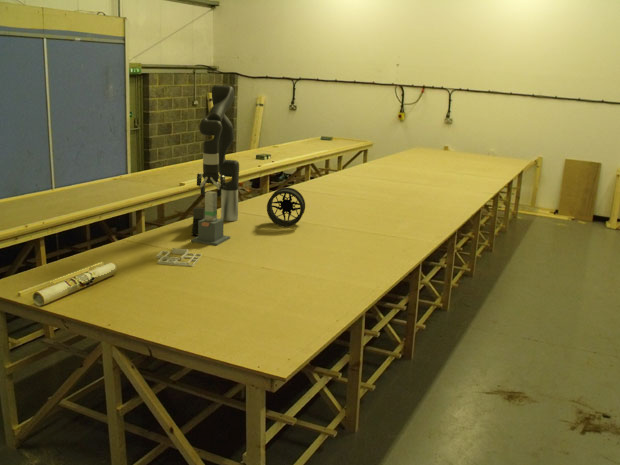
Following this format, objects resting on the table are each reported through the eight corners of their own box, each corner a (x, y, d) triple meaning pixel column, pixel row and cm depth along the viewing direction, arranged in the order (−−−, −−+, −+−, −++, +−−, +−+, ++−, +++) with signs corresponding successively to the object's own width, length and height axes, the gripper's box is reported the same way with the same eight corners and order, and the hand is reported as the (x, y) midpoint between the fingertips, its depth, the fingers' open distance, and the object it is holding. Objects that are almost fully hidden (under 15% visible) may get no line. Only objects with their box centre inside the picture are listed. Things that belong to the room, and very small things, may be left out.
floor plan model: (151, 250, 284) (151, 246, 283) (204, 254, 281) (204, 250, 281) (136, 263, 266) (136, 259, 265) (192, 267, 263) (192, 263, 263)
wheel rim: (304, 223, 340) (306, 188, 334) (302, 228, 331) (304, 191, 325) (268, 221, 341) (269, 186, 336) (266, 225, 333) (267, 189, 327)
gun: (190, 234, 305) (192, 204, 306) (199, 236, 334) (201, 209, 335) (203, 235, 305) (205, 205, 306) (211, 237, 335) (213, 209, 335)
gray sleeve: (205, 234, 311) (205, 215, 308) (230, 238, 306) (230, 218, 304) (191, 241, 298) (191, 221, 295) (216, 245, 294) (216, 225, 291)
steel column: (209, 222, 303) (209, 191, 298) (216, 224, 301) (217, 192, 297) (204, 224, 299) (204, 192, 294) (212, 226, 297) (212, 193, 293)
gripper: (227, 162, 293) (227, 195, 297) (201, 160, 297) (201, 192, 302) (220, 165, 286) (220, 199, 290) (193, 162, 290) (194, 195, 295)
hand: (210, 195), depth 296 cm, fingers open, 8 cm apart
